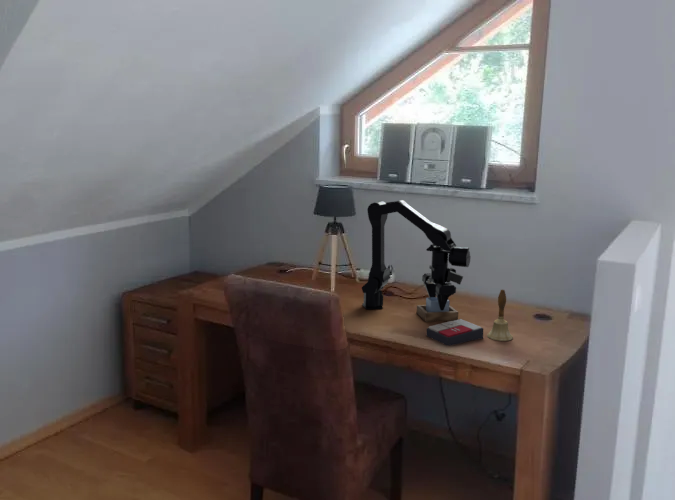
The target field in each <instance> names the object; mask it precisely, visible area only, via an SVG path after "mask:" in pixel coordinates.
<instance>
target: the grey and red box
mask: <svg viewBox="0 0 675 500" xmlns="http://www.w3.org/2000/svg"><path fill="white" fill-rule="evenodd" d="M426 337H427V338H431V339H432V340H435V341H436V342H439V343H441V344H443V345H445V346H448V347H449V346H455V345H459V344H463V343H467V342H469V341H478V340H481V339H483V338H484V327H482V326H479V325H477V324H474V323H472V322H469V321H467V320H464V319H462V318H460V319H459V318H458V320H450V321H447V322H446V321H445V322H442V323H438V324H437V323H436V324H434V325H430V326H428V327H427V328H426Z"/></svg>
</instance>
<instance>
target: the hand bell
mask: <svg viewBox="0 0 675 500" xmlns="http://www.w3.org/2000/svg"><path fill="white" fill-rule="evenodd" d="M497 303H498V304H497V305H498V315H497V317H498V318H497V319H495V320H493V324H492V328H491V329H490V331H489V332H487V334H486V336H487V338H488V339H490V340H493V341H497V342H508V341H512V340H513V339H514V336H513V334H511V332H510V329H509V322H508V321H507V320H505V318H504V317H505V306H506V303H507V295H506V291H505V289H500V292H499V294H498V297H497Z"/></svg>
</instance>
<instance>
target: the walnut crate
mask: <svg viewBox="0 0 675 500" xmlns="http://www.w3.org/2000/svg"><path fill="white" fill-rule="evenodd" d="M416 314H417V315H418V316H419V317H420V318H421V319H422V320H423V321H424V322H425V323H427V322H429V323H430V322H444V321H445V322H446V321H447V322H449V321H455V320H459V311H458V310H456V309H455V308H454V307H453V306H452V305H450V304H449V312H427V311H426V304H418V305H416Z"/></svg>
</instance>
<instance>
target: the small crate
mask: <svg viewBox="0 0 675 500" xmlns="http://www.w3.org/2000/svg"><path fill="white" fill-rule="evenodd" d="M425 305H426V311H427V312H449V305H450V300H449V299H448V300H447V302H446V305H445V308H444V310H440V307H439V303H438V300H437V296H436V297H429V296H428V297H426V299H425Z"/></svg>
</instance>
